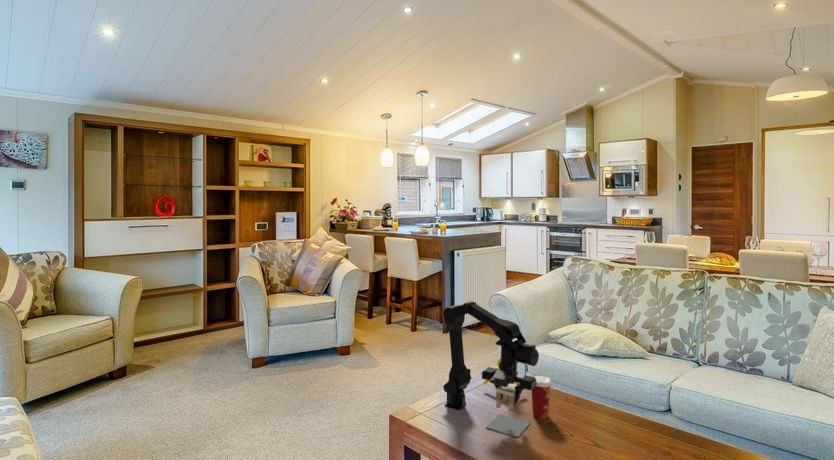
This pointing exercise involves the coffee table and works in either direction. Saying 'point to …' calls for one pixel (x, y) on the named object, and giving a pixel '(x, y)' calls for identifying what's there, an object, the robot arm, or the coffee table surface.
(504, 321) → the robot arm
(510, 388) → the stool
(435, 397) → the coffee table surface
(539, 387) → the paper cup
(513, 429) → the felt pad
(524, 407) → the coffee table surface
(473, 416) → the coffee table surface
